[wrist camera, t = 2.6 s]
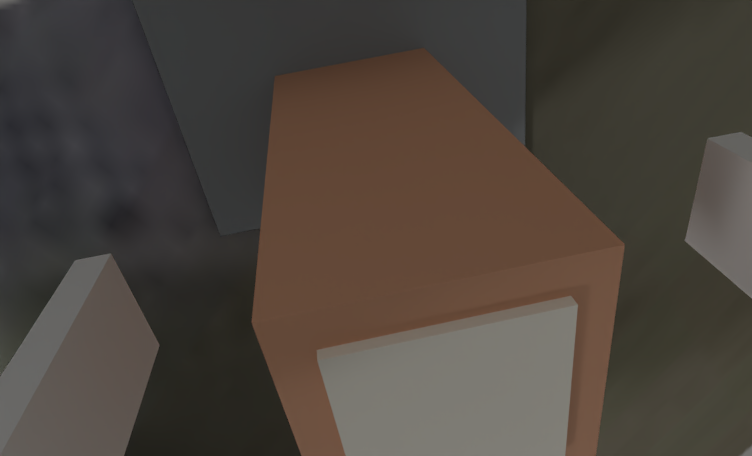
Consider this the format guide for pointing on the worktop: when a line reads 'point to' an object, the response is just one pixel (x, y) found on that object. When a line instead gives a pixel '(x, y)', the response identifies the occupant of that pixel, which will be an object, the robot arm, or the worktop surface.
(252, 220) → the mat
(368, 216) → the block
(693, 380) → the worktop surface
